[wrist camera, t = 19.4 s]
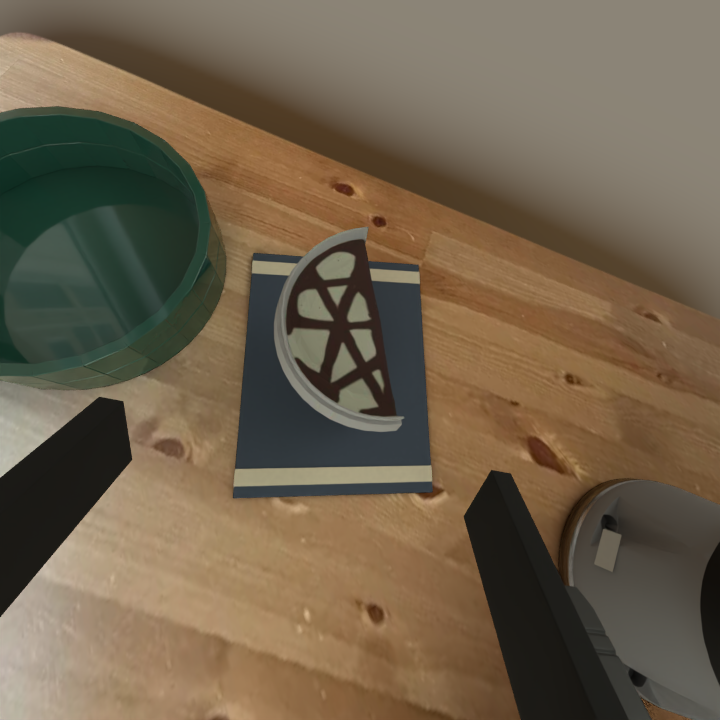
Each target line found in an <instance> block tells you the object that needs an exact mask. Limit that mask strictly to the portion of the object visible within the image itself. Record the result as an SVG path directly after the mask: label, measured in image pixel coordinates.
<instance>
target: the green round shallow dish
mask: <svg viewBox="0 0 720 720" xmlns="http://www.w3.org/2000/svg"><path fill="white" fill-rule="evenodd" d="M225 275H226V253H225V246H224V243H223V239H222V234H221V230H220V227H219V225H218V223H217V220H216V218H215V215H214V213H213V210H212V208H211V205H210V203H209V201H208V198H207V196H206V193H205V191H204V189H203V187H202V186H201V184H200V182H199V180H198V178H197V177H196V175H195V173H194V171H193V169H192V168H191V166H190V165H189V163H188V162H187V161H186V160H185V159H184V158H183V157H182V156H181V155H180V154H179V153H177V152H176V151H175V150H174V149H173V148H172V147H171V146H170V145H169V144H168V143H167V142H166V141H165V140H163V139H162V138H160V137H158V136H157V135H155V134H153V133H151V132H150V131H148V130H146V129H145V128H143V127H141V126H139V125H138V124H135V123H134V122H131V121H128V120H125V119H122V118H119V117H115V116H112V115H109V114H106V113H103V112H99V111H92V110H84V109H76V108H68V107H59V106H54V107H36V108H19V109H14V110H10V111H6V112H1V113H0V380H2V381H6V382H11V383H15V384H20V385H24V386H29V387H33V388H38V389H54V390H85V389H92V388H98V387H105V386H109V385H113V384H116V383H120V382H124V381H127V380H129V379H132V378H134V377H137V376H140V375H142V374H145V373H146V372H148V371H150V370H152V369H154V368H156V367H158V366H160V365H162V364H163V363H165V362H166V361H167V360H169V359H170V358H172V357H173V356H175V355H176V354H178V353H179V352H180V351H181V350H182V349H183V348H184V347H186V346H187V345H188V344H189V343H190V342H191V341H192V340H193V339H194V338H195V337H196V336H197V334H198V333H199V332H200V331H201V330H202V329H203V327H204V326H205V324H206V323H207V321H208V320H209V319H210V317H211V316H212V314H213V312H214V310H215V308H216V306H217V304H218V302H219V299H220V296H221V293H222V290H223V286H224V281H225Z"/></svg>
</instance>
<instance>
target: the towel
mask: <svg viewBox="0 0 720 720" xmlns="http://www.w3.org/2000/svg"><path fill="white" fill-rule="evenodd" d="M302 258H303V257H302V256H288V255H275V254H261V253H253V261H252V276H251V288H250V300H249V312H248V323H247V335H246V347H245V359H244V371H243V383H242V395H241V407H240V418H239V430H238V442H237V454H236V466H235V475H234V490H233V498H257V497H290V496H323V495H356V494H389V493H422V492H433V491H432V469H431V459H430V443H429V427H428V411H427V395H426V379H425V363H424V347H423V331H422V315H421V299H420V277H419V267H418V265H413V264H399V263H385V262H372V261H368V263H369V268H370V273H371V279H372V284H373V289H374V294H375V298H376V303H377V307H378V311H379V316H380V321H381V327H382V334H383V341H384V348H385V354H386V360H387V366H388V372H389V378H390V384H391V389H392V394H393V397H394V400H395V408H396V414H397V416H404V419H402V420H401V422H402V425H401V426H400V427H399V428H398V429H397V430H396V431H387V432H376V431H364V430H360V429H355V428H351V427H347V426H345V425H342V424H340V423H338V422H335V421H333V420H331V419H329V418H327V417H326V416H324V415H323V414H321V413H319V412H318V411H316V410H315V409H314V408H313V407H312V406H310V405H309V404H308V403H307V402H306V401H305V400H304V399H302V397H301V396H300V395H299V394H298V392H297V391H296V390H295V389H294V388H293V386H292V385H291V383H290V382H289V380H288V378H287V377H286V375H285V373H284V371H283V369H282V366H281V364H280V361H279V358H278V356H277V351H276V346H275V341H274V320H275V313H276V308H277V304H278V301H279V298H280V295H281V292H282V289H283V286H284V284H285V282H286V280H287V278H288V276H289V275H290V273H291V271H292V270H293V268H294V267H295V266H296V265H297V263H298V262H299V261H300V260H301V259H302Z"/></svg>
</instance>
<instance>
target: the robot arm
mask: <svg viewBox="0 0 720 720" xmlns="http://www.w3.org/2000/svg"><path fill="white" fill-rule="evenodd" d="M131 460H132V455H131V448H130V442H129V435H128V429H127V422H126V416H125V409H124V403H123V401H118V400H113V399H108V398H102V397H99V398H97V399H96V400H95V401H94V402H93V403H91V404H90V405H89V406H88V407H86V408H85V409H84V410H83V411H82V412H80V413H79V414H78V415H77V416H75V417H74V418H73V419H72V420H71V421H69V422H68V423H67V424H66V425H64V426H63V427H62V428H61V429H59V430H58V431H57V432H56V433H55V434H53V435H52V436H51V437H50V438H48V439H47V440H46V441H45V442H44V443H42V444H41V445H40V446H39V447H37V448H36V449H35V450H34V451H33V452H31V453H30V454H29V455H28V456H26V457H25V458H24V459H23V460H22V461H20V462H19V463H18V464H17V465H15V466H14V467H13V468H12V469H10V470H9V471H8V472H7V473H6V474H4V475H3V476H2V477H1V478H0V617H1V616H2V614H3V613H4V612H5V611H6V610H7V608H8V607H9V606H10V605H11V604H12V603H13V601H14V600H15V599H16V598H17V597H18V595H19V594H20V593H21V592H22V591H23V589H24V588H25V587H26V586H27V585H28V583H29V582H30V581H31V580H32V579H33V577H34V576H35V575H36V574H37V573H38V571H39V570H40V569H41V568H42V567H43V565H44V564H45V563H46V562H47V561H48V560H49V558H50V557H51V556H52V555H53V554H54V552H55V551H56V550H57V549H58V548H59V546H60V545H61V544H62V543H63V542H64V540H65V539H66V538H67V537H68V536H69V534H70V533H71V532H72V531H73V530H74V528H75V527H76V526H77V525H78V524H79V522H80V521H81V520H82V519H83V518H84V516H85V515H86V514H87V513H88V512H89V511H90V509H91V508H92V507H93V506H94V505H95V503H96V502H97V501H98V500H99V499H100V497H101V496H102V495H103V494H104V493H105V491H106V490H107V489H108V488H109V487H110V485H111V484H112V483H113V482H114V481H115V479H116V478H117V477H118V476H119V475H120V473H121V472H122V471H123V470H124V469H125V468H126V466H127V465H128V464H129V463H130V462H131ZM464 519H465V523H466V527H467V530H468V534H469V537H470V541H471V544H472V548H473V551H474V555H475V559H476V562H477V566H478V569H479V573H480V576H481V580H482V583H483V587H484V591H485V594H486V598H487V601H488V605H489V608H490V612H491V615H492V619H493V623H494V626H495V630H496V633H497V637H498V640H499V644H500V647H501V651H502V655H503V658H504V662H505V665H506V669H507V672H508V676H509V679H510V683H511V687H512V690H513V694H514V697H515V701H516V704H517V708H518V711H519V715H520V719H521V720H652V719H651V717H650V715H649V713H648V711H647V709H646V708H645V706H644V704H643V702H642V700H641V698H642V699H644V700H647V701H649V702H650V703H652V704H654V705H656V706H658V707H660V708H662V709H665V710H667V711H670V712H673V713H676V714H679V715H681V716H684V717H687V718H690V719H692V720H720V505H719V504H716V503H714V502H712V501H709V500H707V499H704V498H702V497H699V496H697V495H695V494H692V493H690V492H687V491H685V490H682V489H680V488H677V487H674V486H671V485H667V484H664V483H660V482H656V481H650V480H640V479H616V480H611V481H608V482H605V483H602V484H600V485H598V486H596V487H595V488H593V489H592V490H590V491H589V492H588V493H587V494H586V495H585V496H584V497H583V498H582V499H581V500H580V501H579V502H578V503H577V505H576V506H575V508H574V509H573V511H572V513H571V514H570V516H569V518H568V521H567V523H566V525H565V528H564V531H563V535H562V539H561V544H560V552H559V573H558V571H557V569H556V567H555V565H554V563H553V561H552V559H551V556H550V554H549V552H548V550H547V548H546V546H545V544H544V542H543V540H542V538H541V536H540V534H539V531H538V529H537V527H536V525H535V523H534V521H533V519H532V517H531V515H530V513H529V511H528V509H527V506H526V504H525V502H524V500H523V498H522V496H521V494H520V492H519V490H518V488H517V486H516V484H515V482H514V479H513V477H512V475H511V474H510V473H505V472H499V471H494V470H491V472H490V473H489V475H488V477H487V478H486V480H485V482H484V483H483V485H482V487H481V488H480V490H479V492H478V493H477V495H476V497H475V498H474V500H473V502H472V503H471V505H470V507H469V508H468V510H467V512H466V513H465V515H464ZM640 697H641V698H640Z"/></svg>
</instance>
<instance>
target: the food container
mask: <svg viewBox="0 0 720 720" xmlns="http://www.w3.org/2000/svg"><path fill="white" fill-rule="evenodd" d="M367 233H368V227H364V228H356V229H351V230H348V231H344V232H340V233H338V234H336V235H334V236H331V237H329V238H327V239H325V240H324V241H322V242H321V243H319V244H318V245H316V246H315V247H314V248H313V249H311V250H310V251H309V252H308V253H307V254H306V255H305V256H304V257H303V258H302V259H301V260H300V261H299V262H298V263H297V265H296V266H295V267H294V268H293V270H292V271H291V273H290V275H289V276H288V278H287V280H286V282H285V284H284V286H283V289H282V292H281V295H280V298H279V301H278V304H277V308H276V313H275V320H274V341H275V346H276V351H277V356H278V358H279V361H280V364H281V366H282V369H283V371H284V373H285V375H286V377H287V378H288V380H289V382H290V383H291V385H292V386H293V388H294V389H295V390H296V391H297V392H298V394H299V395H300V396H301V397H302V399H304V400H305V401H306V402H307V403H308V404H309V405H310V406H312V407H313V408H314V409H315V410H316V411H318V412H319V413H321V414H323V415H324V416H326V417H327V418H329V419H331V420H333V421H335V422H338V423H340V424H342V425H345V426H347V427H351V428H355V429H360V430H364V431H376V432H387V431H396V430H397V429H398V428H399V427H400V426H401V425H402V422H401V420H402V419H404V416H397V414H396V408H395V400H394V397H393V394H392V389H391V384H390V378H389V372H388V366H387V360H386V354H385V348H384V341H383V334H382V327H381V321H380V316H379V311H378V307H377V303H376V298H375V294H374V289H373V284H372V279H371V273H370V268H369V263H368V257H367V252H366V247H365V242H366V237H367Z"/></svg>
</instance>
